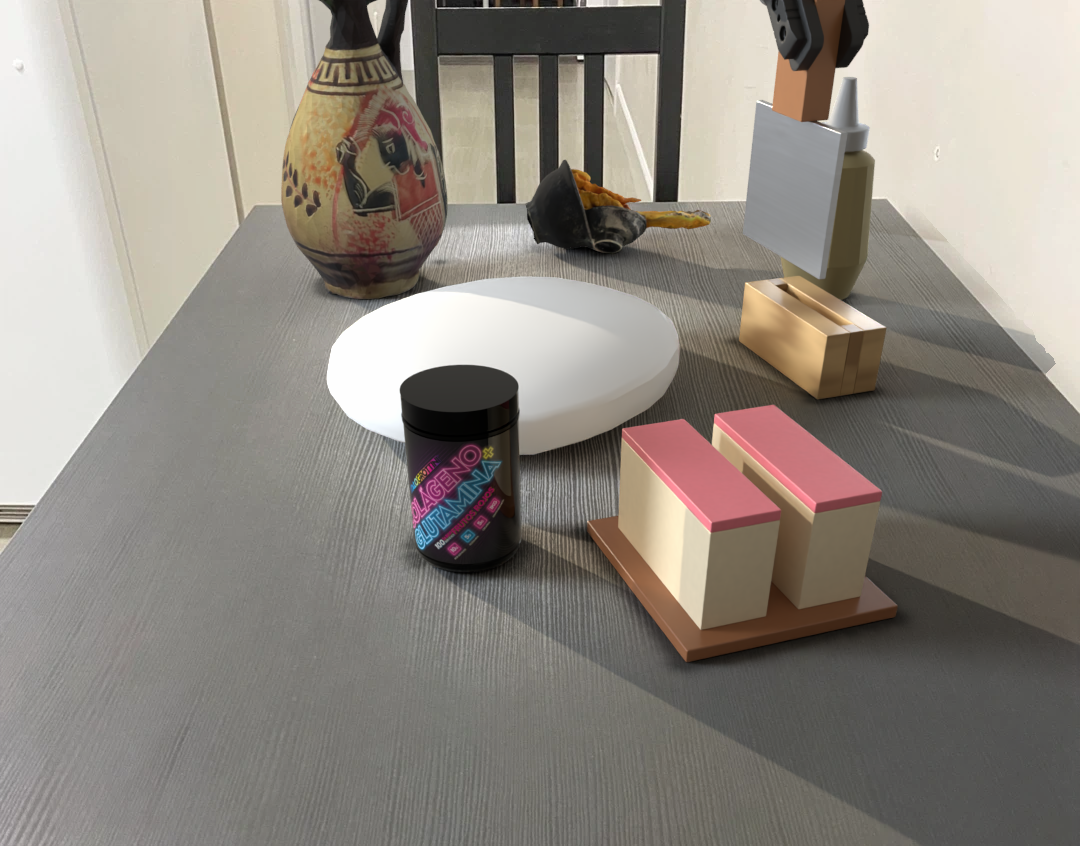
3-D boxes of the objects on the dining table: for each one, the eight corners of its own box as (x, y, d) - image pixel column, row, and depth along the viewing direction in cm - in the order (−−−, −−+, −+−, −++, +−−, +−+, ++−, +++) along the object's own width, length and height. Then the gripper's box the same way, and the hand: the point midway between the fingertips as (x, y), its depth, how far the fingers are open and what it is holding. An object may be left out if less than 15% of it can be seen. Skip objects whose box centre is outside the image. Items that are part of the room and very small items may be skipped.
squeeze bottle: (811, 275, 108) (841, 66, 97) (878, 295, 103) (918, 78, 92) (757, 292, 104) (781, 77, 93) (823, 314, 100) (858, 90, 88)
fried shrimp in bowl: (515, 188, 117) (674, 123, 115) (550, 291, 120) (706, 229, 118) (511, 173, 109) (683, 102, 106) (549, 284, 112) (717, 218, 109)
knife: (733, 235, 64) (761, -55, 55) (757, 232, 65) (789, -56, 56) (808, 281, 58) (855, -40, 49) (835, 277, 58) (886, -42, 49)
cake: (586, 531, 69) (588, 421, 65) (769, 498, 72) (783, 391, 68) (686, 663, 58) (697, 542, 54) (896, 617, 62) (924, 499, 57)
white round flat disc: (561, 441, 68) (245, 364, 79) (566, 527, 73) (266, 443, 84) (739, 271, 85) (457, 226, 96) (734, 350, 90) (466, 299, 100)
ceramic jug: (348, 324, 99) (299, -86, 80) (267, 282, 108) (205, -94, 89) (497, 284, 107) (484, -96, 88) (409, 248, 116) (381, -102, 97)
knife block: (738, 341, 95) (744, 282, 92) (791, 333, 96) (799, 275, 93) (817, 399, 85) (827, 336, 82) (875, 390, 86) (887, 327, 83)
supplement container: (393, 544, 68) (376, 383, 62) (480, 511, 71) (473, 355, 65) (454, 590, 64) (443, 422, 58) (544, 553, 67) (543, 390, 61)
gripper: (640, -346, 49) (732, 7, 48) (902, -339, 53) (995, -7, 51) (595, -192, 57) (675, 119, 55) (828, -194, 60) (908, 100, 59)
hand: (829, 57), depth 53 cm, fingers closed on knife, 1 cm apart
